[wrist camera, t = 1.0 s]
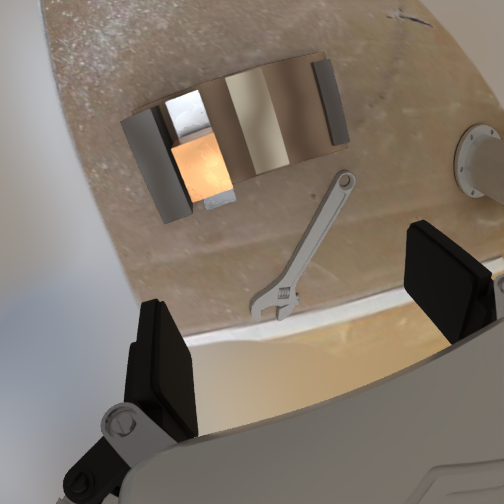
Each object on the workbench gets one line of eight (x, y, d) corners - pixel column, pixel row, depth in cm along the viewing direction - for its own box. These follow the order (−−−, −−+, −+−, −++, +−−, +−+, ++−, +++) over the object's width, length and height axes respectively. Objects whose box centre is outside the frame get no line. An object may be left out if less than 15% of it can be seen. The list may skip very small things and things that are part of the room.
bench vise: (318, 52, 32) (346, 47, 25) (341, 144, 38) (371, 160, 31) (134, 110, 32) (118, 116, 25) (172, 200, 38) (166, 228, 31)
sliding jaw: (199, 89, 30) (198, 90, 20) (231, 181, 36) (246, 226, 25) (170, 99, 30) (154, 106, 20) (204, 191, 36) (208, 239, 25)
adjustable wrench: (338, 165, 40) (344, 168, 38) (372, 188, 42) (378, 192, 41) (243, 309, 48) (245, 317, 47) (278, 321, 51) (280, 328, 49)
